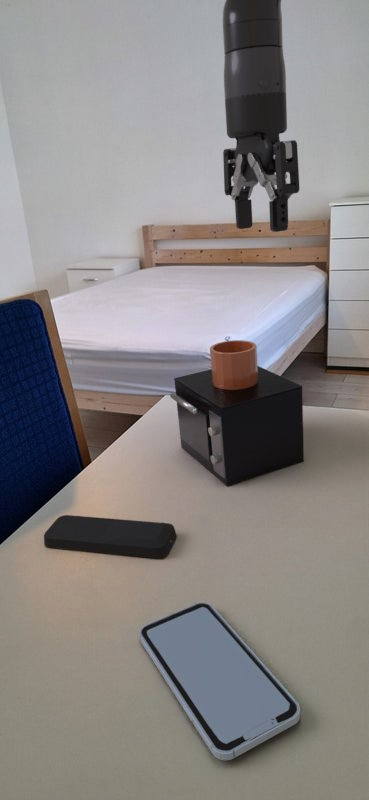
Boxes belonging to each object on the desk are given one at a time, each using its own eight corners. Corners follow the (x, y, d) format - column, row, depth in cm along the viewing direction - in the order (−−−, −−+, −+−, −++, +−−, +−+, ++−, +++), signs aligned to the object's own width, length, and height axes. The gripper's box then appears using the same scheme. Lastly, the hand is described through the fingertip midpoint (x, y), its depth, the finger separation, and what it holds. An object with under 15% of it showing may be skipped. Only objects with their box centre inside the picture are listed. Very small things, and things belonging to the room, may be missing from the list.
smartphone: (206, 598, 56) (306, 711, 43) (207, 606, 57) (306, 721, 44) (134, 629, 53) (218, 759, 41) (136, 637, 54) (219, 769, 41)
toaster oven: (250, 427, 93) (246, 360, 89) (303, 461, 81) (302, 386, 77) (171, 450, 88) (163, 380, 84) (216, 490, 76) (209, 411, 72)
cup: (243, 371, 85) (241, 337, 83) (266, 383, 80) (264, 347, 78) (205, 381, 83) (202, 346, 81) (226, 393, 77) (224, 356, 76)
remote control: (42, 551, 68) (165, 559, 64) (38, 537, 68) (163, 545, 63) (62, 526, 73) (179, 533, 68) (59, 514, 72) (177, 519, 67)
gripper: (315, 83, 69) (317, 228, 75) (250, 100, 81) (256, 224, 87) (260, 85, 66) (266, 236, 72) (201, 103, 78) (211, 230, 84)
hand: (260, 229), depth 79 cm, fingers open, 8 cm apart
